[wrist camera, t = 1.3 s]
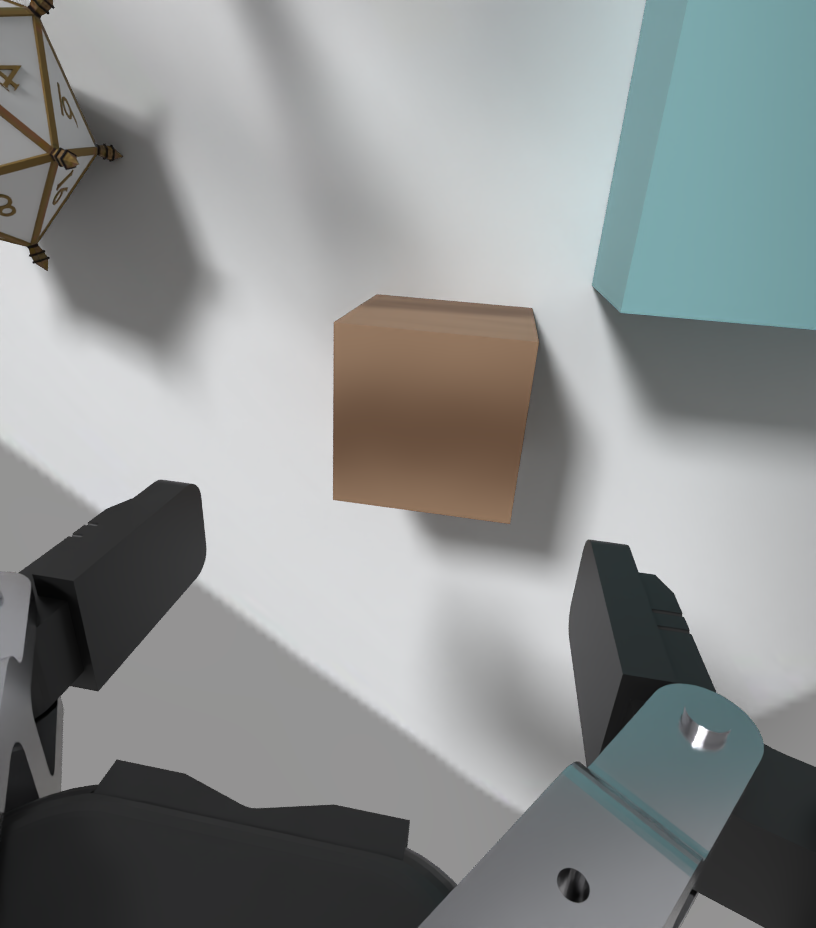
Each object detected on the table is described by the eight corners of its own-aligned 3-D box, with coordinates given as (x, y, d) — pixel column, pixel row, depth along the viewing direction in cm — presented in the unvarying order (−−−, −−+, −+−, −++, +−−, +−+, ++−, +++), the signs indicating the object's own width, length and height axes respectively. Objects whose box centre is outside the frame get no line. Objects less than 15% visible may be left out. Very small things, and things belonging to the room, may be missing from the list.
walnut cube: (377, 294, 22) (333, 322, 17) (532, 307, 21) (538, 341, 16) (372, 435, 25) (333, 499, 19) (510, 452, 24) (510, 523, 18)
